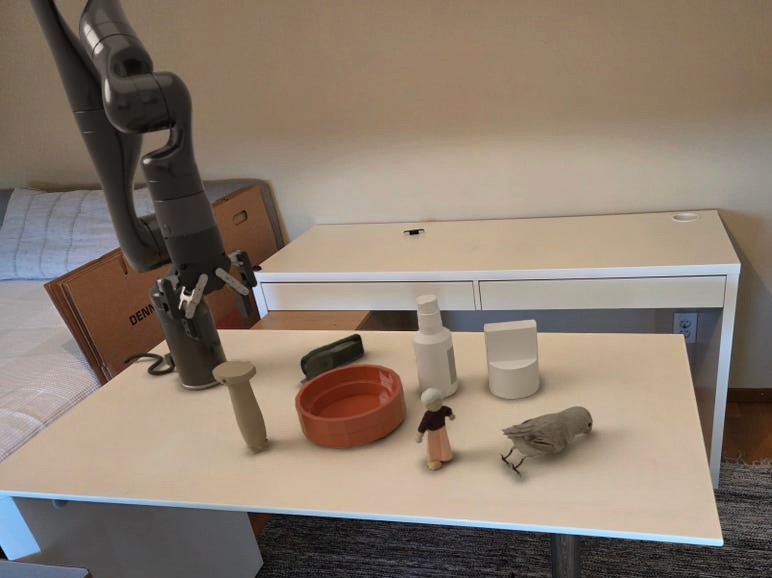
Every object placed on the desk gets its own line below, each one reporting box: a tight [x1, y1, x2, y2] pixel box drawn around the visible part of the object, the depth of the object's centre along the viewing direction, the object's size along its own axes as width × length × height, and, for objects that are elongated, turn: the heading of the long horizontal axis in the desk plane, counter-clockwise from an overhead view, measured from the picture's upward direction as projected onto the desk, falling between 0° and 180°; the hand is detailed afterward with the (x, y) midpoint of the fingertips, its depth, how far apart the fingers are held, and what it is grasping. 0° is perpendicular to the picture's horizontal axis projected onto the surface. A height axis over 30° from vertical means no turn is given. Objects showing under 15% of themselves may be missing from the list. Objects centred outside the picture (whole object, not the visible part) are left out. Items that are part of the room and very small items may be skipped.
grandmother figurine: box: [414, 388, 457, 471], centre depth 94 cm, size 8×4×13 cm, turn 148°
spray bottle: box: [412, 293, 459, 399], centre depth 111 cm, size 7×7×18 cm
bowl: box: [294, 363, 407, 449], centre depth 107 cm, size 18×18×6 cm
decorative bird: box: [499, 405, 594, 478], centre depth 94 cm, size 5×16×8 cm, turn 122°
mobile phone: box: [299, 333, 365, 385], centre depth 124 cm, size 5×3×15 cm
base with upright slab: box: [483, 319, 540, 400], centre depth 111 cm, size 9×9×12 cm
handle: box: [213, 360, 269, 453], centre depth 100 cm, size 5×6×15 cm
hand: (222, 327), depth 98 cm, fingers open, 8 cm apart
